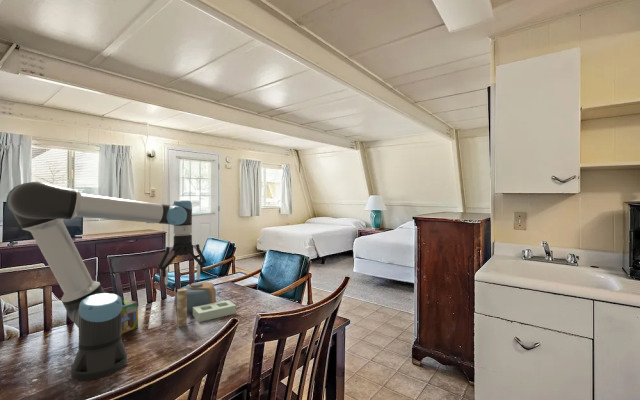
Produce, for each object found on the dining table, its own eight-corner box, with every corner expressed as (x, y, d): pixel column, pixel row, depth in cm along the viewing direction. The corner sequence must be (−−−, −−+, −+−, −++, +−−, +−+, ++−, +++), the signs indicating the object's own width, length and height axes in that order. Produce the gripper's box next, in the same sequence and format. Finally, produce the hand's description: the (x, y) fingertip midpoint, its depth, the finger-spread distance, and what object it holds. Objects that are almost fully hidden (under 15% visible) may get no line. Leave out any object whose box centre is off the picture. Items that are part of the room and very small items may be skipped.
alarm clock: (220, 308, 156) (220, 285, 156) (178, 316, 144) (179, 291, 145) (211, 298, 172) (211, 277, 172) (172, 304, 160) (173, 282, 160)
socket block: (198, 322, 138) (198, 313, 138) (192, 315, 146) (192, 307, 146) (235, 313, 149) (236, 305, 149) (228, 307, 157) (228, 299, 157)
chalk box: (138, 328, 131) (138, 294, 131) (116, 336, 122) (116, 300, 122) (126, 324, 135) (126, 291, 135) (103, 332, 127) (104, 297, 127)
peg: (178, 327, 132) (178, 291, 132) (176, 324, 134) (177, 289, 134) (186, 325, 134) (187, 290, 134) (184, 322, 136) (185, 288, 136)
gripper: (152, 237, 124) (152, 288, 124) (213, 233, 139) (213, 278, 139) (150, 235, 129) (150, 284, 130) (208, 231, 145) (208, 275, 145)
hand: (182, 281), depth 134 cm, fingers open, 13 cm apart
